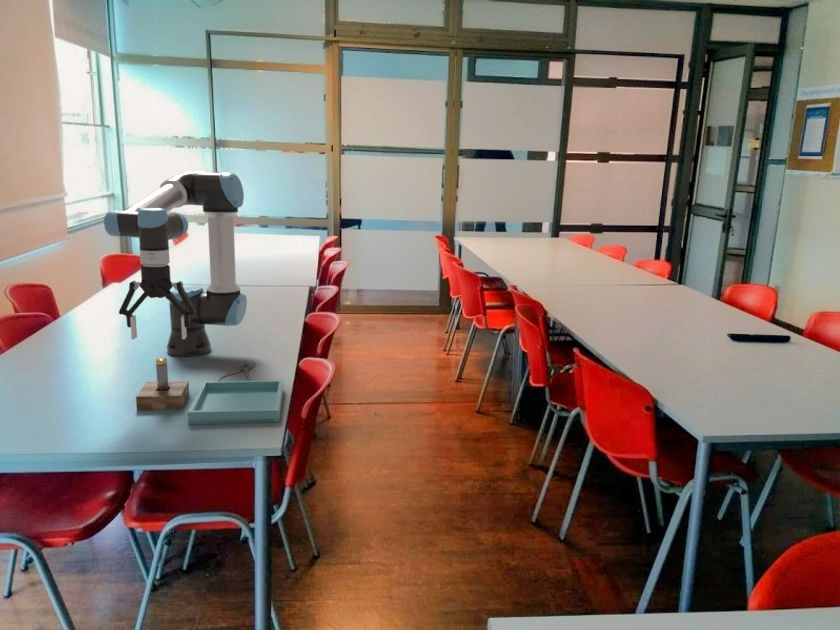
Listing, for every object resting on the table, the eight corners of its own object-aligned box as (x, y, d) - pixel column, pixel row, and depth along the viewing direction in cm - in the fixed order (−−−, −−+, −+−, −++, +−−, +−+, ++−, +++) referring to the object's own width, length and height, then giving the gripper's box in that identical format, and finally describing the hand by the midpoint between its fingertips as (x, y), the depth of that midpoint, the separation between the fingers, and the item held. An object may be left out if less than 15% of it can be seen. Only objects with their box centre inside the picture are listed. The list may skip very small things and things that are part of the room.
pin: (159, 399, 190) (157, 358, 187) (170, 399, 191) (167, 357, 188) (157, 403, 187) (154, 361, 184) (168, 403, 188) (165, 361, 185)
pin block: (147, 394, 194) (146, 382, 193) (189, 393, 196) (188, 381, 195) (136, 410, 182) (135, 396, 181) (181, 409, 184) (180, 395, 183)
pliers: (216, 382, 205) (227, 362, 224) (216, 385, 205) (227, 364, 224) (247, 382, 206) (255, 362, 225) (247, 385, 206) (255, 364, 225)
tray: (203, 392, 197) (202, 381, 196) (283, 390, 201) (283, 380, 200) (188, 424, 174) (187, 412, 174) (278, 422, 178) (278, 410, 177)
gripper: (103, 266, 173) (109, 341, 178) (199, 267, 177) (202, 341, 182) (111, 261, 181) (117, 334, 186) (204, 263, 185) (207, 334, 190)
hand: (159, 338), depth 184 cm, fingers open, 13 cm apart
